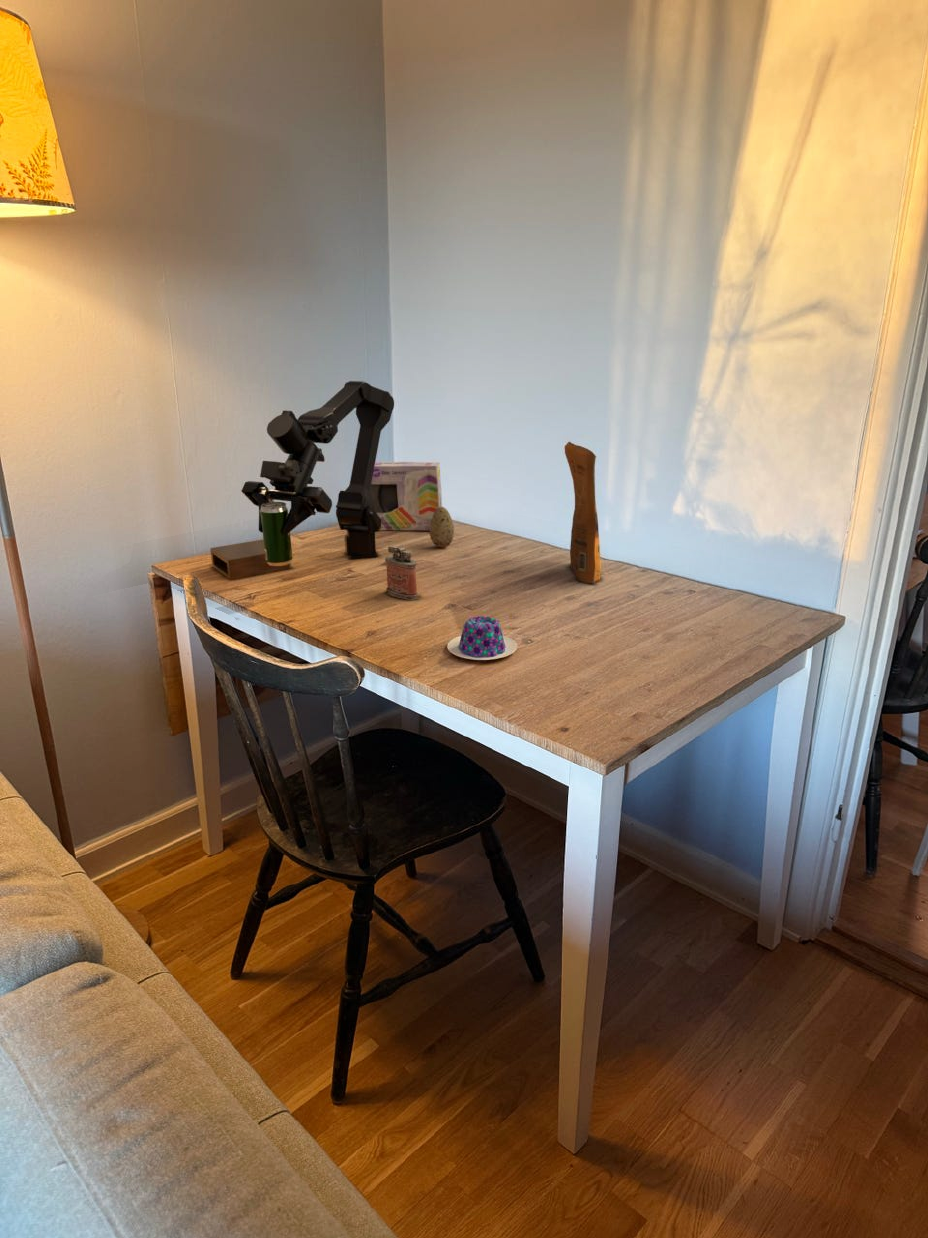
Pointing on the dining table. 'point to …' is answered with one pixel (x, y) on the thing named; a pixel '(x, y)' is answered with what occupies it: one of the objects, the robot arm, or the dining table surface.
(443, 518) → the decorative egg
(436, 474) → the cake pan box
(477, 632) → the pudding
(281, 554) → the beer can
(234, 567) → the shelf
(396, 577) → the lighter
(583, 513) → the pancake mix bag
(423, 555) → the dining table surface
